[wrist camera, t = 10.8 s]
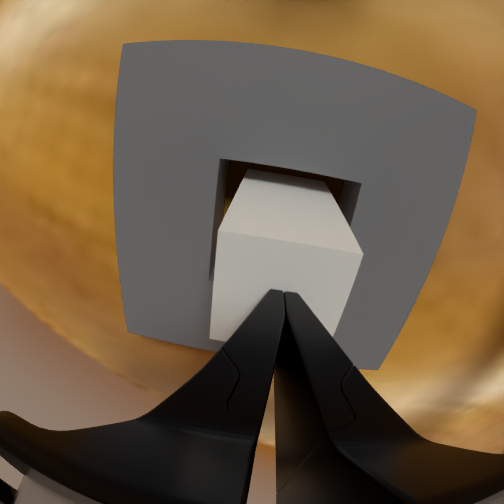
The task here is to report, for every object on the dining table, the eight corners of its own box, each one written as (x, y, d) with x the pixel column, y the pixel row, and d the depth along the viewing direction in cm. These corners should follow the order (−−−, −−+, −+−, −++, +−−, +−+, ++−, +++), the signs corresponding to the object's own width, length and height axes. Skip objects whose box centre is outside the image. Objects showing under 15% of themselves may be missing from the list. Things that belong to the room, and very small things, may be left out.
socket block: (446, 106, 12) (476, 110, 9) (369, 338, 20) (378, 369, 17) (149, 52, 12) (123, 43, 10) (144, 303, 20) (127, 331, 17)
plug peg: (324, 182, 15) (363, 254, 8) (309, 249, 17) (325, 355, 10) (248, 168, 15) (217, 230, 8) (238, 238, 17) (209, 338, 10)
